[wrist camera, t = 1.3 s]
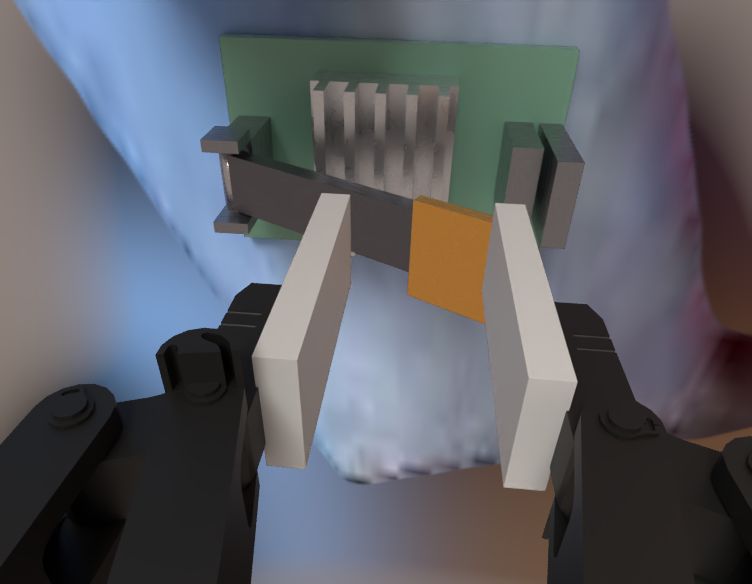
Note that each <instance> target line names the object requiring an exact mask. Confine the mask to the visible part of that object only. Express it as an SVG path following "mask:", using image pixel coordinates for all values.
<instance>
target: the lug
mask: <svg viewBox="0 0 752 584" xmlns="http://www.w3.org/2000/svg"><path fill="white" fill-rule="evenodd" d="M584 165H585V162H584V161H583V159H582V157H581V156H580V154H579V152H578V151H577V149H576V147H575V145H574V144H573V142H572V140H571V139H570V137H569V135H568V134H567V132H566V130H565V128H564V127H563V125H562V124H553V123H539V128H538V134H537V131H536V129H535V127H534V125H533V123H532V122H511V121H505V123H504V130H503V137H502V143H501V150H500V157H499V164H498V170H497V177H496V184H495V191H494V202H495V203H505V204H523V205H525V206H526V209H527V213H528V216H529V219H530V221H531V218H532V222H533V225H534V228H535V231H536V235H537V238H538V241H539V245H540V247H544V248H560V249H565V245H566V240H567V236H568V232H569V228H570V224H571V219H572V215H573V211H574V207H575V202H576V198H577V194H578V190H579V186H580V181H581V177H582V173H583V169H584Z"/></svg>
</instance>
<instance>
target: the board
mask: <svg viewBox="0 0 752 584" xmlns="http://www.w3.org/2000/svg"><path fill="white" fill-rule="evenodd" d="M219 41H220V49H221V57H222V65H223V73H224V81H225V88H226V96H227V104H228V112H229V120H230V124H231V123H232V122H233V121H234V120H235V119H236V118H237V117H238V116H239V115H243V116H263V117H270V120H271V132H272V144H273V155H274V160H277V161H281V162H284V163H288V164H291V165H295V166H298V167H302V168H305V169H309V170H312V171H314V159H313V137H312V115H311V93H310V80H311V79H312V77H313V76H314V75H315V73H316V72H317V71H318V70H322V71H345V72H369V73H393V74H417V75H441V76H458V80H459V94H458V105H457V115H456V125H455V135H454V145H453V155H452V165H451V176H450V186H449V196H448V203H451V204H455V205H459V206H462V207H466V208H469V209H473V210H476V211H480V212H484V213H487V214H491V215H493V213H494V207H495V202H494V191H495V184H496V177H497V170H498V164H499V157H500V150H501V143H502V137H503V130H504V123H505V121H511V122H532V123H533V125H534V127H535V129H536V131H537V134H538V128H539V123H553V124H562V125H563V127H564V125H565V120H566V115H567V110H568V106H569V101H570V96H571V91H572V86H573V82H574V77H575V72H576V67H577V62H578V58H579V53H580V50H579V49H578V48H577V47H567V46H541V45H514V44H488V43H461V42H435V41H408V40H382V39H355V38H329V37H302V36H276V35H250V34H223V35H221V36H219ZM530 223H531V226H532V230H533V233H534V236H535V240H536V243H537V247H538V250H539V241H538V238H537V235H536V231H535V228H534V225H533V222H532V218H531V221H530ZM244 237H256V238H272V239H288V240H302V238H303V234H300V233H297V232H295V231H292V230H289V229H286V228H283V227H280V226H278V225H275V224H272V223H269V222H266V221H263V220H261V219H258V220H257V221H256V223H255V225H254V226H253V228H252V230H251V231H250V233H249V234H244Z"/></svg>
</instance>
